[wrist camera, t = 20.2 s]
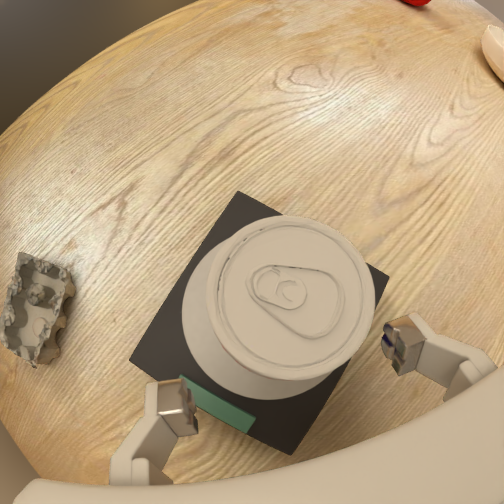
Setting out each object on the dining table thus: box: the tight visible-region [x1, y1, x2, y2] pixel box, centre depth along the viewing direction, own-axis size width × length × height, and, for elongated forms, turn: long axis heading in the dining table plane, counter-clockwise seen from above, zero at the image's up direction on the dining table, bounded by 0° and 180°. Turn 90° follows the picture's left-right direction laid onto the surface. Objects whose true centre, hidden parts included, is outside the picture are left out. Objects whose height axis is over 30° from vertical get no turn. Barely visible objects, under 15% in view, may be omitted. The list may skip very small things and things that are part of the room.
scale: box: [129, 191, 389, 455], centre depth 25 cm, size 18×16×4 cm
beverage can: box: [206, 215, 375, 381], centre depth 17 cm, size 6×6×15 cm
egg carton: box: [0, 252, 76, 369], centre depth 25 cm, size 11×8×4 cm
